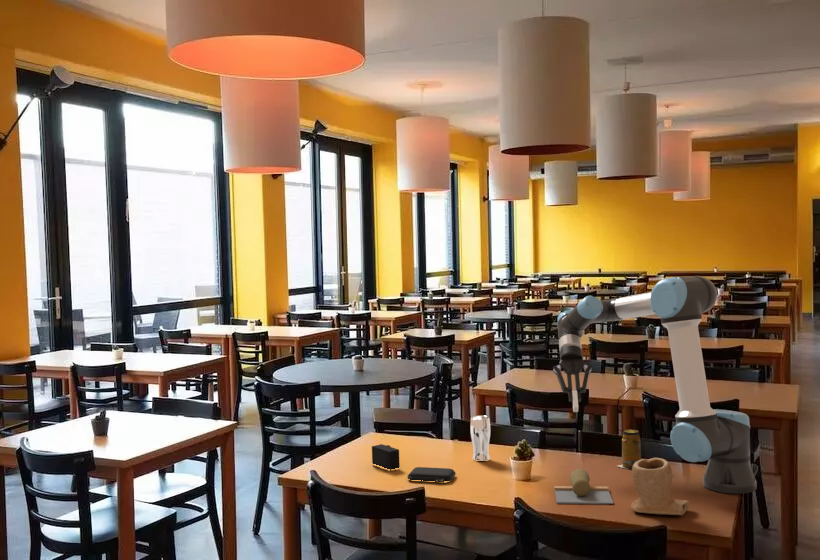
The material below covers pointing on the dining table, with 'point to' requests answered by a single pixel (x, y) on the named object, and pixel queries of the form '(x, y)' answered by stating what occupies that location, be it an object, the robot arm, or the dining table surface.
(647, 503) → the stone cup
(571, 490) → the mat
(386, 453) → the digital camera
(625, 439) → the condiment
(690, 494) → the dining table surface
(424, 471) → the carrying case or bag
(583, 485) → the cork
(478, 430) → the beer glass
